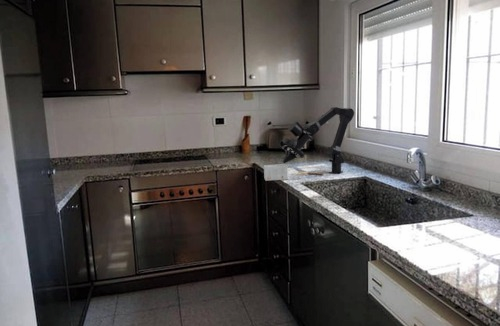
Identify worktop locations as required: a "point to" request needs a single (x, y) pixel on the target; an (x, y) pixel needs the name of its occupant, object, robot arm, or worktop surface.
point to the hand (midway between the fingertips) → (283, 162)
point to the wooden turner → (308, 173)
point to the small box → (275, 172)
